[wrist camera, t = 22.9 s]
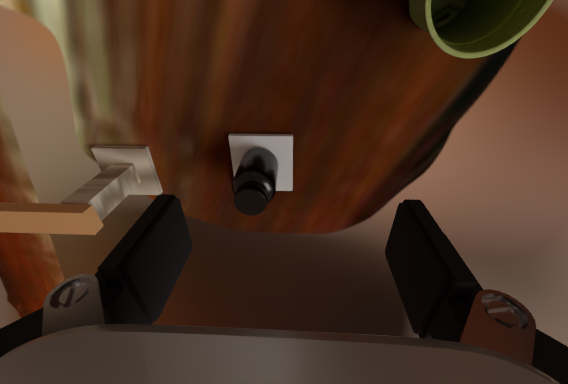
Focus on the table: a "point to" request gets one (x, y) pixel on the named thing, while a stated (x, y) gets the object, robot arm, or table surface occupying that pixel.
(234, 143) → the grey mat
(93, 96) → the table surface
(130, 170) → the stand
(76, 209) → the strap bar
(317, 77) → the table surface
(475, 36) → the plant pot
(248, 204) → the supplement bottle
